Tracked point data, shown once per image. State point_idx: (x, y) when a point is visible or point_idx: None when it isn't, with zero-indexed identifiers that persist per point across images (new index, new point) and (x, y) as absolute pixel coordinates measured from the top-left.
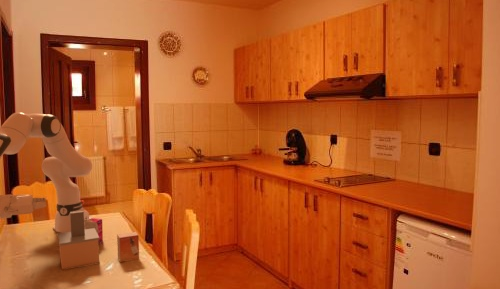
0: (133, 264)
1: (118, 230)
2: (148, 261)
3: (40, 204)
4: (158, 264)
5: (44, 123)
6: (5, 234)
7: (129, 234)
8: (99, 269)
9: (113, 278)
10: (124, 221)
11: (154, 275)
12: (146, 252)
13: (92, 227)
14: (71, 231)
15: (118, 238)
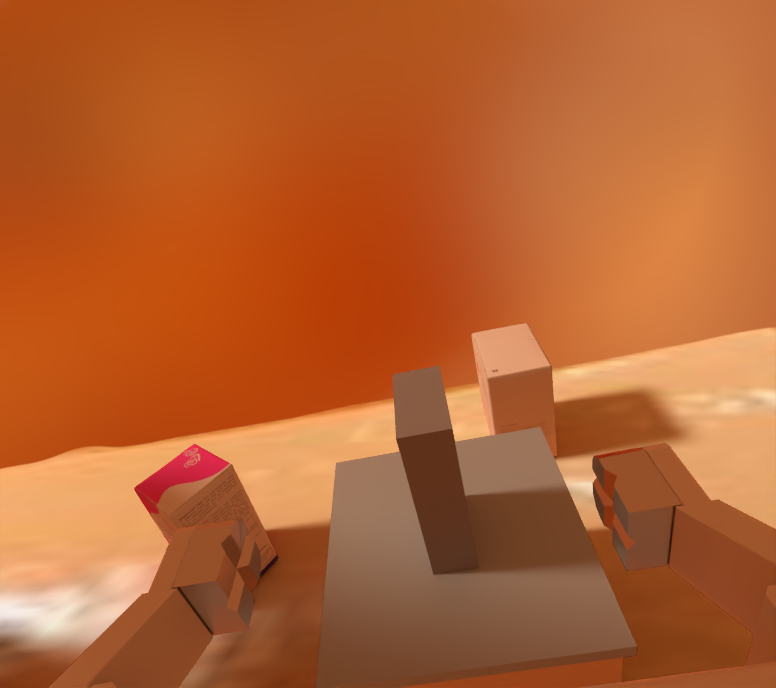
0: (592, 418)
1: (137, 481)
2: (569, 382)
3: (726, 521)
4: (607, 360)
5: None
6: None
7: (510, 343)
8: None
9: (759, 470)
10: (44, 466)
11: (717, 364)
12: (470, 391)
13: (227, 503)
14: (472, 539)
15: (527, 379)
